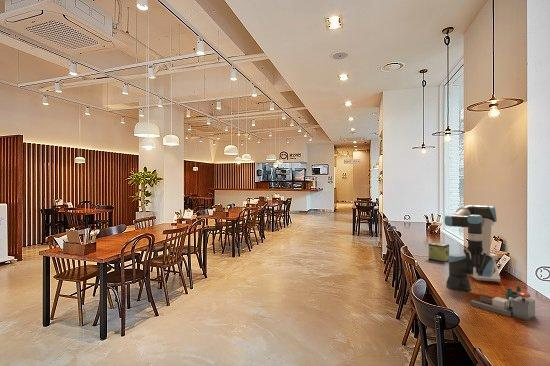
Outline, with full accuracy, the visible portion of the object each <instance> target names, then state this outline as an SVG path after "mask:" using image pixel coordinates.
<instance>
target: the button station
mask: <svg viewBox="0 0 550 366" xmlns="http://www.w3.org/2000/svg"><path fill="white" fill-rule="evenodd" d="M516 292H517V291H516ZM517 295H518V296H519V297H517V298H515V299H514V298H512V297H509V298H508V301H507V310H509V311H511V313H512V317H515V318H517V319H520V320H521V319H522V320H525V321H528V322H529V321H530V320H532V319H533V318H535V317H536V300H535V299H533V298H531V296H532V295H531V294H530V293H528V292H524V291H521V292H517Z"/></svg>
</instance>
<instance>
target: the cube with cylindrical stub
mask: <svg viewBox="0 0 550 366" xmlns="http://www.w3.org/2000/svg"><path fill="white" fill-rule="evenodd" d="M491 299H492V304H491V306H495V307H498V308H502V309H505V310H507V301H508V300H507V299H506V298H503V297H501V296H500V297H499V296H495V297H494V298H491Z"/></svg>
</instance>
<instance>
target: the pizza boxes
mask: <svg viewBox="0 0 550 366" xmlns="http://www.w3.org/2000/svg"><path fill="white" fill-rule="evenodd" d="M469 255H470V257H471V253H470V252H469ZM490 256H491V257H492V260H494V261H495V268H494V273H493V275H492V277H483V276H478V278H475V280H476V281H477V280H478V281H485V282H486V281H487V282H498V283H500V282H501V276H500V272H499V269H498V265H497V262H496V260H499V255H498V254H496V253H492V252H490ZM471 277H472V278H473V275H471Z"/></svg>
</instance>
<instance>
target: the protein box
mask: <svg viewBox="0 0 550 366" xmlns="http://www.w3.org/2000/svg"><path fill="white" fill-rule="evenodd" d="M449 256H450V244H447V243H438V242H430V243H428V260H429V261H434V262H440V263H447V262H448V263H449Z"/></svg>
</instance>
